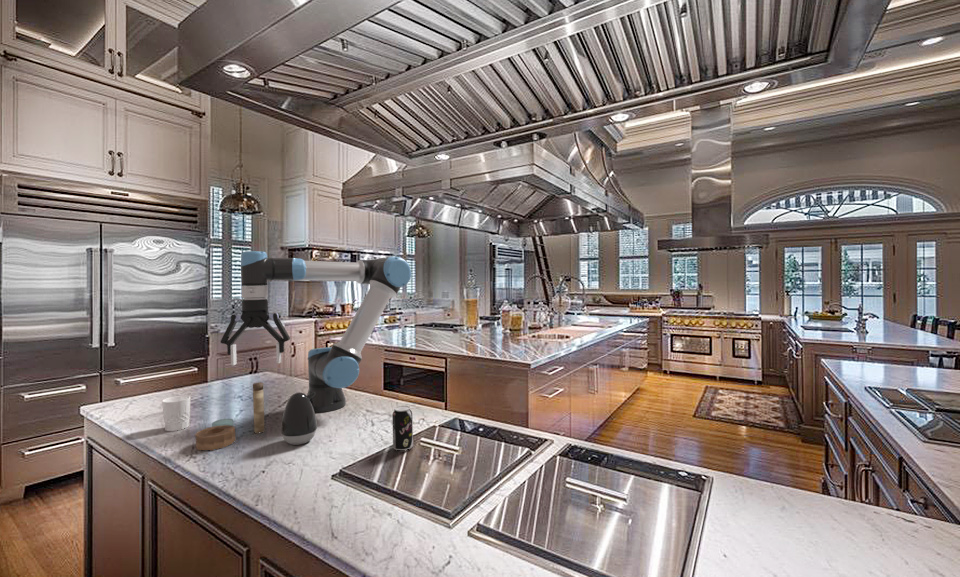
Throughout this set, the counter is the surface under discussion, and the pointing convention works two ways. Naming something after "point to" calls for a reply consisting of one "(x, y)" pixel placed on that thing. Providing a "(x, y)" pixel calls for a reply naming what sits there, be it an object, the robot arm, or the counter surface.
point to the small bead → (223, 422)
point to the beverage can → (402, 428)
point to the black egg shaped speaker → (299, 419)
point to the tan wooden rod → (258, 407)
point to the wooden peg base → (215, 437)
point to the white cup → (176, 412)
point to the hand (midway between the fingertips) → (256, 363)
